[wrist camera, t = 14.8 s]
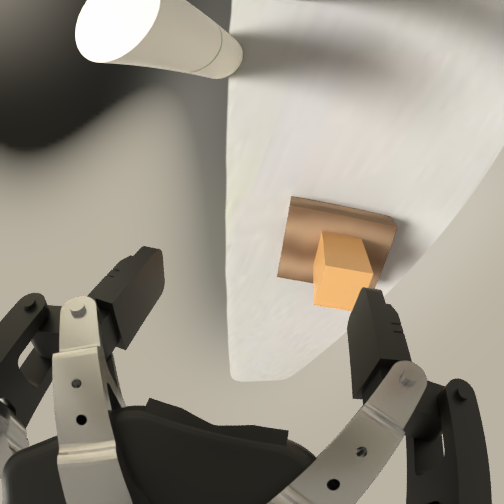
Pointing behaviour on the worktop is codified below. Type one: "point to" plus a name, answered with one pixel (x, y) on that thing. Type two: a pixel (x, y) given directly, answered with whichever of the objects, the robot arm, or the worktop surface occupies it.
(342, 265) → the peach foam cube
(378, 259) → the brown slab
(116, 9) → the cylindrical container
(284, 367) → the worktop surface
